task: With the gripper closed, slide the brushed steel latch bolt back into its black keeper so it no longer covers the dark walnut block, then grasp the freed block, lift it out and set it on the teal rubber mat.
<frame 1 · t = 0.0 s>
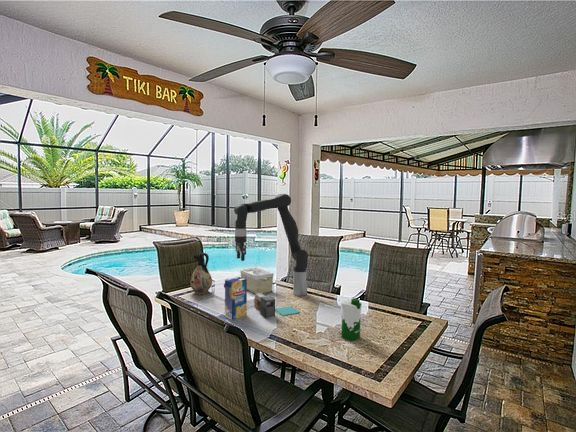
hand: (240, 259, 216), 29 cm above the table, tool pointing down, fingers open, 8 cm apart
block: (258, 307, 209), on the table
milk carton: (350, 337, 168), on the table
ceramic jug: (202, 293, 239), on the table
keeper: (267, 315, 196), on the table
storage basket: (256, 289, 249), on the table
mat: (286, 311, 204), on the table
blue yellow food box: (235, 316, 195), on the table
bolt: (263, 299, 202), point 8 cm above the table, slide at 0.0 cm
toy drill: (235, 299, 225), on the table
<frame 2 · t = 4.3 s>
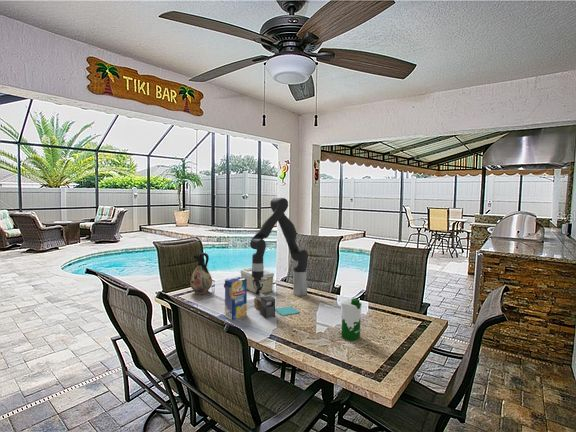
hand: (257, 296, 210), 7 cm above the table, tool pointing down, fingers closed
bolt: (263, 299, 202), point 8 cm above the table, slide at 1.0 cm, touching gripper
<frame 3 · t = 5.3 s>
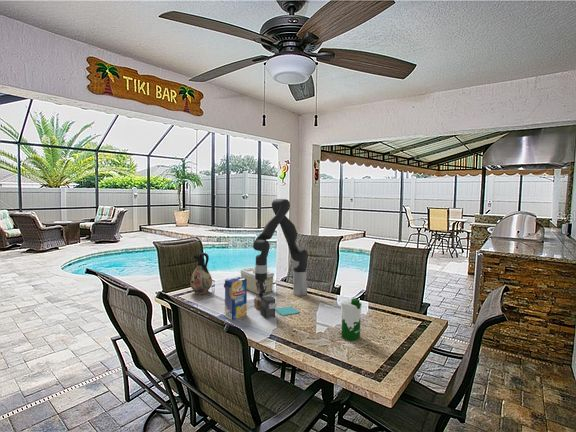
hand: (260, 298, 205), 7 cm above the table, tool pointing down, fingers closed
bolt: (267, 302, 196), point 8 cm above the table, slide at 6.8 cm, touching gripper
everything else where it was.
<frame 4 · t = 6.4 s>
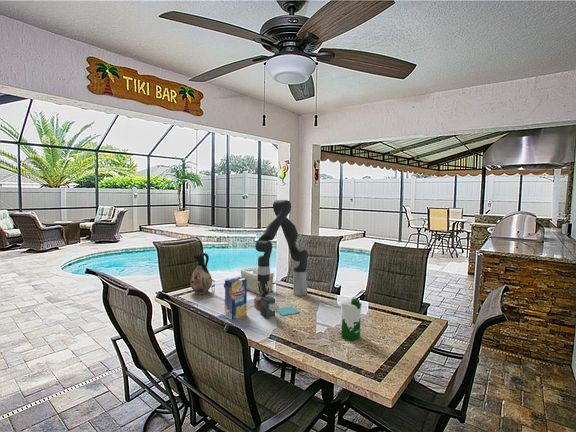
hand: (263, 300, 202), 7 cm above the table, tool pointing down, fingers closed
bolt: (270, 304, 193), point 8 cm above the table, slide at 10.7 cm, touching gripper
everything else where it was.
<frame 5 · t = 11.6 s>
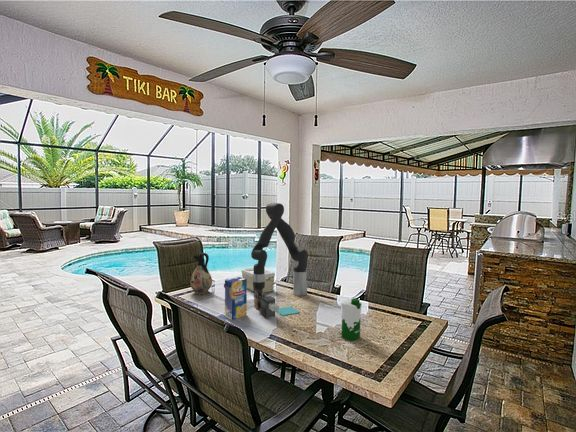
hand: (258, 306, 209), 1 cm above the table, tool pointing down, fingers closed on block, 4 cm apart
block: (258, 307, 209), on the table, touching gripper
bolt: (270, 304, 193), point 8 cm above the table, slide at 10.8 cm
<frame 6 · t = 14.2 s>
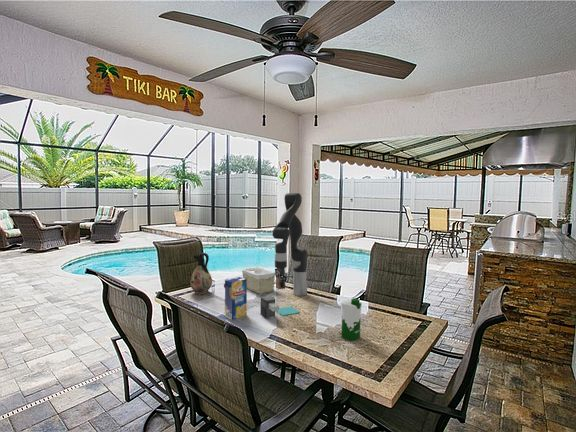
hand: (280, 286, 204), 15 cm above the table, tool pointing down, fingers closed on block, 4 cm apart
block: (280, 288, 204), point 14 cm above the table, touching gripper
when the fingers open (3 cm above the table, at t = 17.3 s): block drops 1 cm, resting on mat.
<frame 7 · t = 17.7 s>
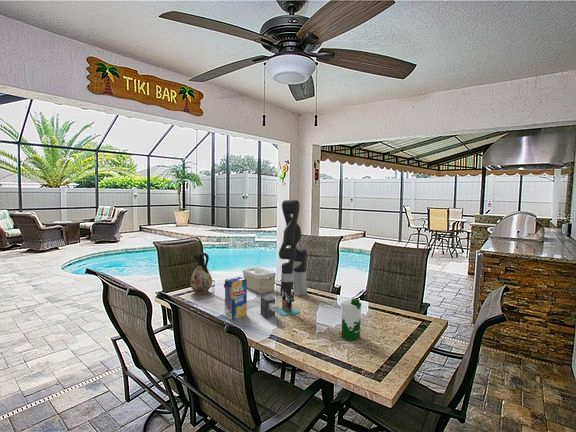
hand: (286, 305, 204), 4 cm above the table, tool pointing down, fingers open, 8 cm apart
block: (286, 310, 204), resting on mat
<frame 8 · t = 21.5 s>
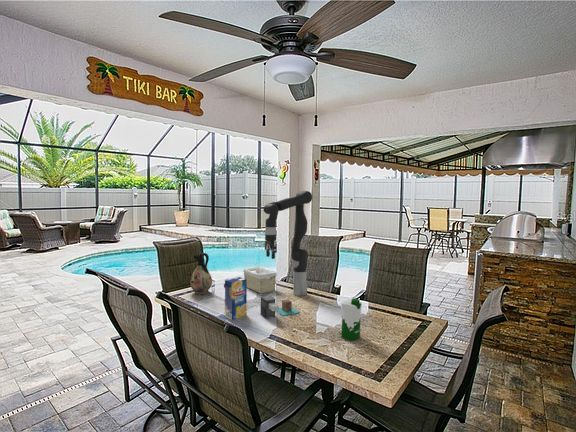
hand: (270, 257, 220), 30 cm above the table, tool pointing down, fingers open, 8 cm apart
at the end: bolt slide at 10.8 cm; block inside the target area on the mat (0.0 cm from its centre), point 0.5 cm above the mat's base; block tilted 0° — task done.
